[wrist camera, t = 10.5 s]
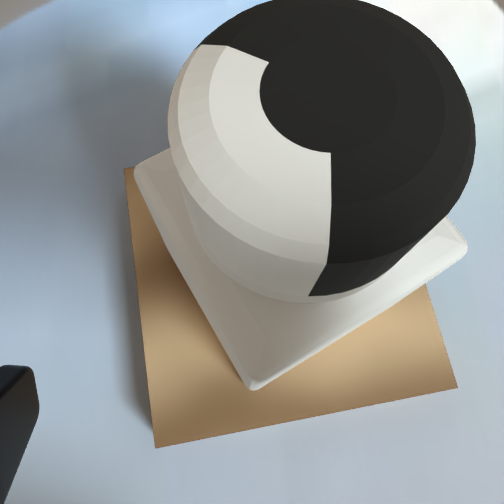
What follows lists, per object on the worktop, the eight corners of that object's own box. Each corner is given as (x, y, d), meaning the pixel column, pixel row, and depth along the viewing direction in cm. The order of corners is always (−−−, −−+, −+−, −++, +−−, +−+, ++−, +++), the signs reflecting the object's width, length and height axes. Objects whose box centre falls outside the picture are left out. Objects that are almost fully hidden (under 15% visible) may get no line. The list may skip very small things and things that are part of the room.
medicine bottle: (304, 171, 21) (373, -98, 10) (396, 303, 19) (612, 154, 8) (165, 246, 20) (64, 33, 9) (250, 394, 18) (262, 371, 7)
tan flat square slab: (438, 389, 20) (457, 387, 18) (163, 444, 19) (155, 448, 18) (366, 151, 24) (377, 129, 22) (133, 188, 23) (123, 168, 21)
